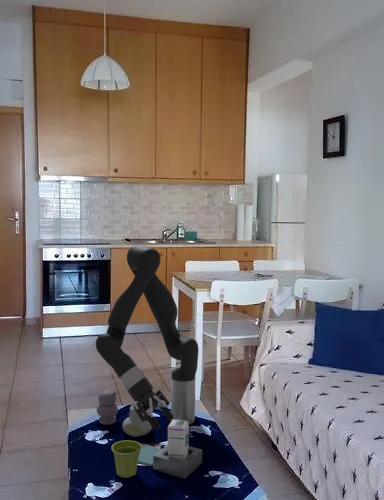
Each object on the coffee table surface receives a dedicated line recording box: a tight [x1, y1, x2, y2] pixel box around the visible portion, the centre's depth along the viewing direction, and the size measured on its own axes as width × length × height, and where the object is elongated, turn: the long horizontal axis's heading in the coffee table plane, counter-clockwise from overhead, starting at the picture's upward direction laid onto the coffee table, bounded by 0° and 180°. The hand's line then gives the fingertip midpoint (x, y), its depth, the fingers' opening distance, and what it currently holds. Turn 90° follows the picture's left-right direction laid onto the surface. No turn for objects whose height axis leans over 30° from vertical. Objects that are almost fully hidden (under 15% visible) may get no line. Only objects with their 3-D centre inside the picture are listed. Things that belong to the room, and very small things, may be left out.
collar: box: [152, 444, 203, 480], centre depth 175 cm, size 12×12×4 cm
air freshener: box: [122, 404, 153, 438], centre depth 198 cm, size 11×8×10 cm
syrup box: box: [167, 419, 190, 460], centre depth 174 cm, size 6×6×14 cm
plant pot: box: [111, 440, 142, 479], centre depth 169 cm, size 9×9×9 cm
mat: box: [138, 443, 163, 467], centre depth 182 cm, size 11×11×1 cm
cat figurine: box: [96, 388, 119, 426], centre depth 208 cm, size 8×8×12 cm
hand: (165, 423), depth 176 cm, fingers open, 8 cm apart
